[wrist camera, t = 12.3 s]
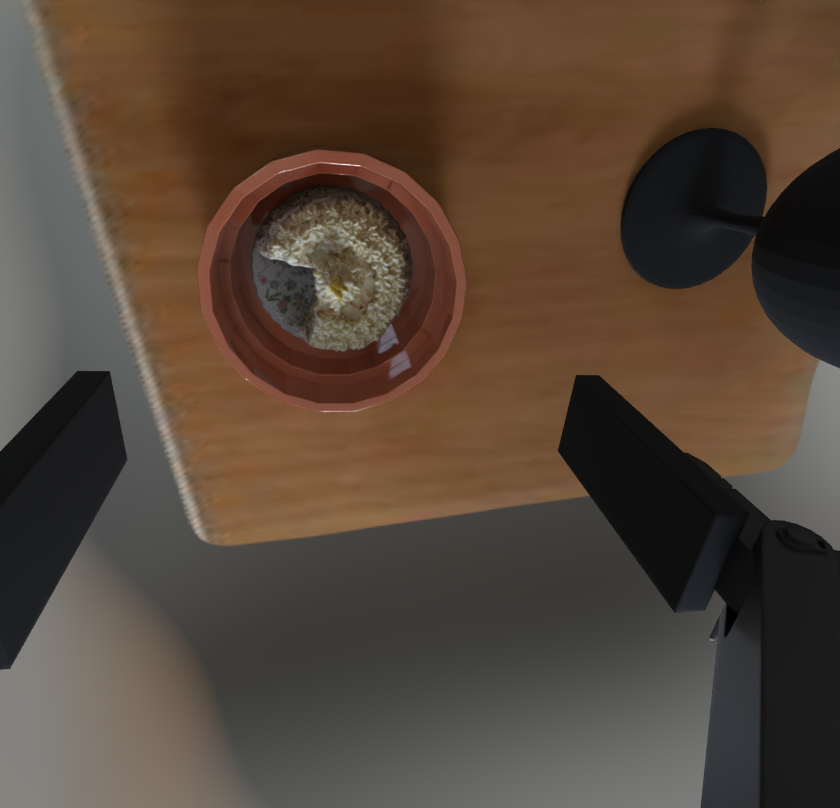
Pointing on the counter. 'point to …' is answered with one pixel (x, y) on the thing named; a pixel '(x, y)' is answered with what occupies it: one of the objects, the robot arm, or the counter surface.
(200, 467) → the counter surface
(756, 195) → the wine glass
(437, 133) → the counter surface
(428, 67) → the counter surface
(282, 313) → the cake
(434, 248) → the bowl
